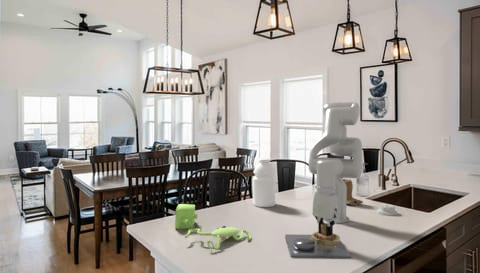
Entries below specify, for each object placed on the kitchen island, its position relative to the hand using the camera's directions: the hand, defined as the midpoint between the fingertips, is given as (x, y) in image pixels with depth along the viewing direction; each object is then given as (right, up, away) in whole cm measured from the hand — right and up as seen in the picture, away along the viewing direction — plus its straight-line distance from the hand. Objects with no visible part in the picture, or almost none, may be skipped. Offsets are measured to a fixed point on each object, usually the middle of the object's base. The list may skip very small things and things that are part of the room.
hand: (325, 233), depth 137 cm
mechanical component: (+46, -2, +45) cm, 64 cm away
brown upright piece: (+30, -1, +66) cm, 73 cm away
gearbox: (-61, -4, +23) cm, 66 cm away
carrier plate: (-5, -4, -4) cm, 8 cm away
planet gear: (0, -2, 0) cm, 2 cm away
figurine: (-45, -5, +3) cm, 45 cm away
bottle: (-21, -1, +64) cm, 67 cm away
